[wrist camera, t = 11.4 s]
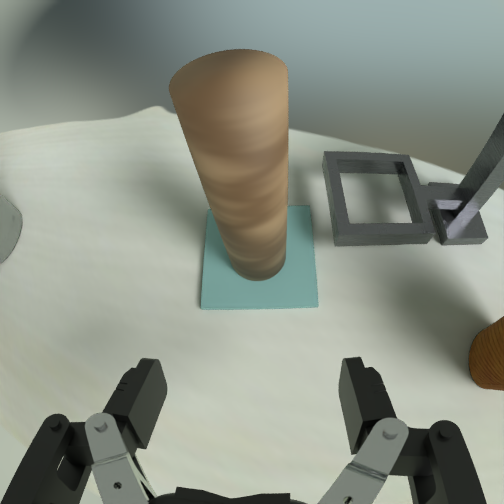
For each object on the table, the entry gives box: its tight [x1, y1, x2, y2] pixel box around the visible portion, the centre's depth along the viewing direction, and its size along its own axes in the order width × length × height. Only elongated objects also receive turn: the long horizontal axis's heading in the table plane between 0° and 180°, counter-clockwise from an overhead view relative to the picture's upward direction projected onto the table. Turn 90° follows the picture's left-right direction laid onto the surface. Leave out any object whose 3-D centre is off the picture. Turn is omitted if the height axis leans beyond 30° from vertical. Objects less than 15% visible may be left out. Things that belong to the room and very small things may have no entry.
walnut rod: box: [169, 49, 288, 281], centre depth 19 cm, size 5×5×18 cm
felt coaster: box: [201, 205, 318, 310], centre depth 27 cm, size 10×10×1 cm
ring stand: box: [322, 114, 504, 246], centre depth 21 cm, size 18×9×16 cm, turn 90°
